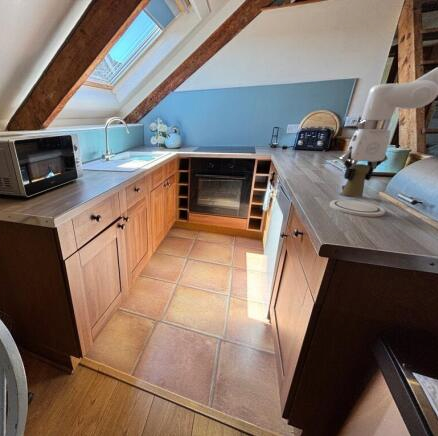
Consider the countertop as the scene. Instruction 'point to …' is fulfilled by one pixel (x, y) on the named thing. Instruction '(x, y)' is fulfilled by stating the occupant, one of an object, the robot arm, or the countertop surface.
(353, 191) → the cork
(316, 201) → the countertop surface
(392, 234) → the countertop surface
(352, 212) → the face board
